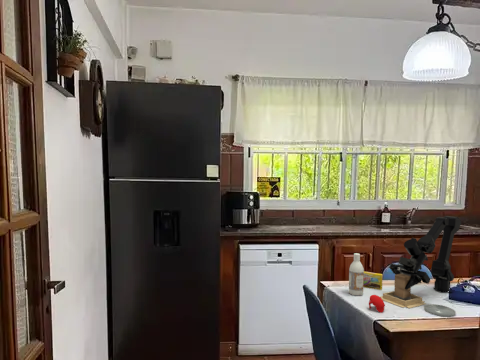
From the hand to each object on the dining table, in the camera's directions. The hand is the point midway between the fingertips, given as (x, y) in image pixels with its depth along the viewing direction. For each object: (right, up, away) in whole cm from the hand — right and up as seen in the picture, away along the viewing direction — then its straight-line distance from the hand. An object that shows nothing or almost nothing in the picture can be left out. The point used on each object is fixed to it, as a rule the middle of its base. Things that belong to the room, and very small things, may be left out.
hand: (400, 287), depth 168 cm
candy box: (-9, -6, +21) cm, 24 cm away
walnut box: (+1, -7, +1) cm, 7 cm away
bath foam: (-18, -6, +10) cm, 21 cm away
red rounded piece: (-16, -7, -11) cm, 20 cm away
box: (+16, -7, +30) cm, 34 cm away
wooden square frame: (+1, -7, +1) cm, 7 cm away
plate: (+12, -7, -12) cm, 18 cm away
